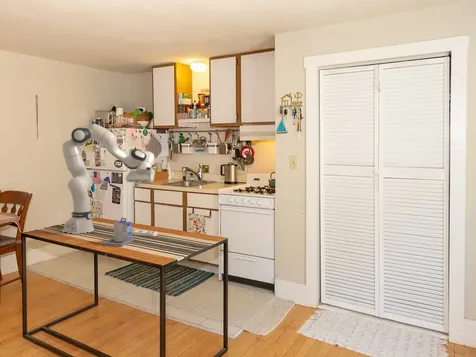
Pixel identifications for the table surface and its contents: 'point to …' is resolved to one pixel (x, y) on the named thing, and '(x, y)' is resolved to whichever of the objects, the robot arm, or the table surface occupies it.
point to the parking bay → (117, 243)
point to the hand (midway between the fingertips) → (136, 186)
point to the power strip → (144, 233)
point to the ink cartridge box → (122, 231)
